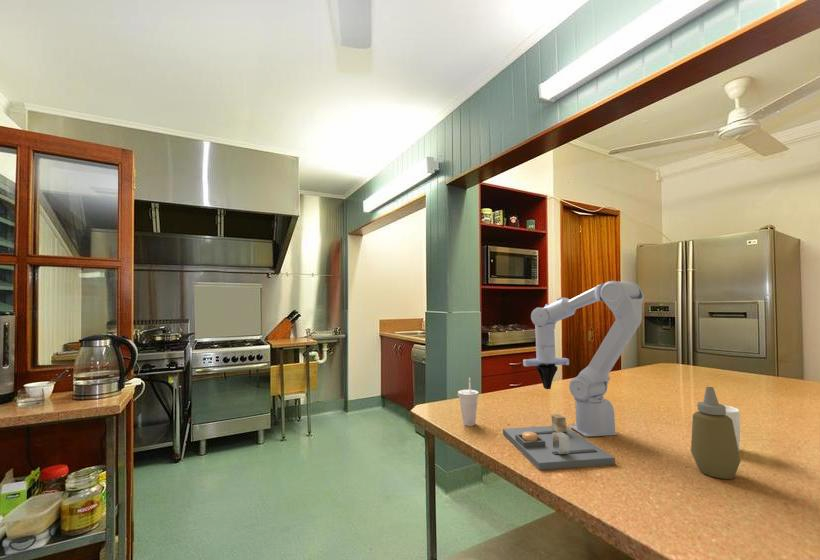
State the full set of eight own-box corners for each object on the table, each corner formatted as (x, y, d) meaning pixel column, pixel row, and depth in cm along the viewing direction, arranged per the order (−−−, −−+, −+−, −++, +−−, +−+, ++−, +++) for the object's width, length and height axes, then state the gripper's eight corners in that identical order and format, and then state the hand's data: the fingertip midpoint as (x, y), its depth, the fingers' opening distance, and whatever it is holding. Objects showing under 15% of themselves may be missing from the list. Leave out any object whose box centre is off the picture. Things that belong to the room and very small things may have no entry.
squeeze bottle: (692, 461, 82) (687, 381, 83) (740, 471, 77) (733, 386, 78) (691, 475, 76) (685, 388, 77) (743, 486, 71) (736, 393, 72)
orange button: (533, 439, 93) (533, 431, 93) (540, 444, 89) (539, 436, 89) (520, 440, 92) (519, 432, 92) (526, 445, 89) (525, 437, 89)
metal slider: (562, 448, 86) (561, 432, 86) (569, 453, 83) (568, 436, 83) (553, 448, 86) (552, 432, 86) (559, 454, 83) (558, 437, 83)
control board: (563, 430, 103) (563, 420, 103) (615, 464, 81) (614, 451, 81) (502, 434, 101) (502, 424, 101) (539, 470, 79) (538, 457, 79)
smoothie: (479, 428, 107) (478, 380, 107) (457, 426, 108) (456, 379, 109) (479, 421, 113) (478, 375, 114) (459, 420, 114) (458, 375, 115)
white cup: (727, 457, 84) (724, 413, 84) (692, 444, 91) (690, 404, 92) (751, 453, 86) (747, 410, 86) (715, 441, 93) (712, 401, 94)
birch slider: (560, 428, 99) (559, 414, 100) (566, 431, 96) (565, 417, 97) (552, 428, 99) (551, 414, 99) (557, 432, 96) (556, 417, 96)
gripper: (560, 343, 120) (561, 384, 119) (518, 344, 118) (520, 386, 117) (572, 345, 113) (574, 389, 112) (527, 347, 111) (529, 391, 110)
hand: (547, 388), depth 114 cm, fingers closed
